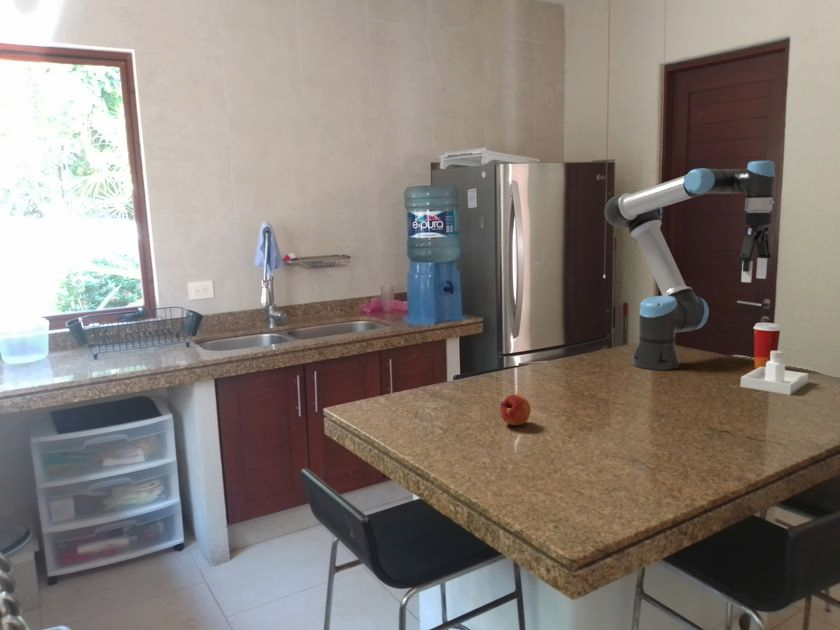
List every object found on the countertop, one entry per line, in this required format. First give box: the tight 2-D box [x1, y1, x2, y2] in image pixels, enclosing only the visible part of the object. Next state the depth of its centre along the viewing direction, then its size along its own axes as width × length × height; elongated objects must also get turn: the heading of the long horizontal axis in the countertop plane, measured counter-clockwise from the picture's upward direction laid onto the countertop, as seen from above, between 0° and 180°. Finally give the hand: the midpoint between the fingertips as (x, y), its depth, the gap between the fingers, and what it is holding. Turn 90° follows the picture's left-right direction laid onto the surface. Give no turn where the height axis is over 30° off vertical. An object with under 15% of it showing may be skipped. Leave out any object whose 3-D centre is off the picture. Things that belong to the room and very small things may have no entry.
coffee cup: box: [753, 322, 782, 369], centre depth 222 cm, size 8×8×15 cm
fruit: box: [499, 394, 532, 426], centre depth 168 cm, size 8×8×8 cm
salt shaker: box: [765, 350, 786, 383], centre depth 202 cm, size 4×4×10 cm
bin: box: [740, 367, 809, 396], centre depth 202 cm, size 14×18×3 cm
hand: (753, 280), depth 209 cm, fingers open, 13 cm apart
